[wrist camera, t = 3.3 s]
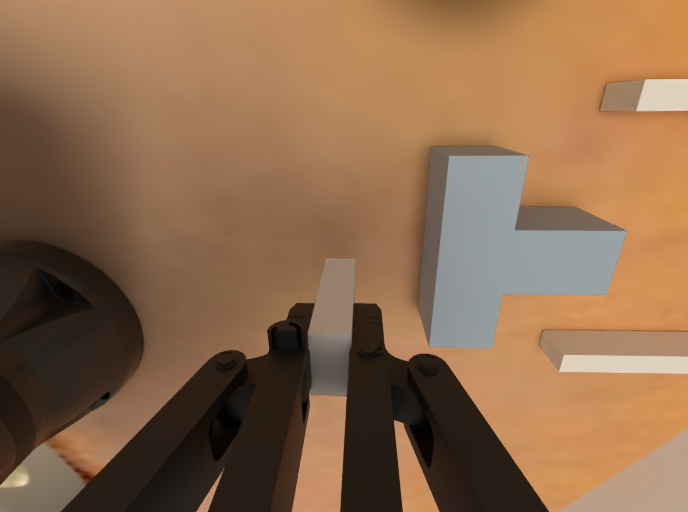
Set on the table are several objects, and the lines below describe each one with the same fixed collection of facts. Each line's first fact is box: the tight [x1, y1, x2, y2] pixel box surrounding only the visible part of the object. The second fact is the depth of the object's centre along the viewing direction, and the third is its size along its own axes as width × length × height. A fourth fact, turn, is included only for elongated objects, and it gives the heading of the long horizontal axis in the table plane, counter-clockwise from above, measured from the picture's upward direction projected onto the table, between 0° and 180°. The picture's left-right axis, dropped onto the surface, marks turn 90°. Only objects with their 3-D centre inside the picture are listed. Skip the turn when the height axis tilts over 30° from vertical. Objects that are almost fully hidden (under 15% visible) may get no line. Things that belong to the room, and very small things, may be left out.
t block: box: [418, 146, 627, 348], centre depth 22 cm, size 10×12×5 cm
